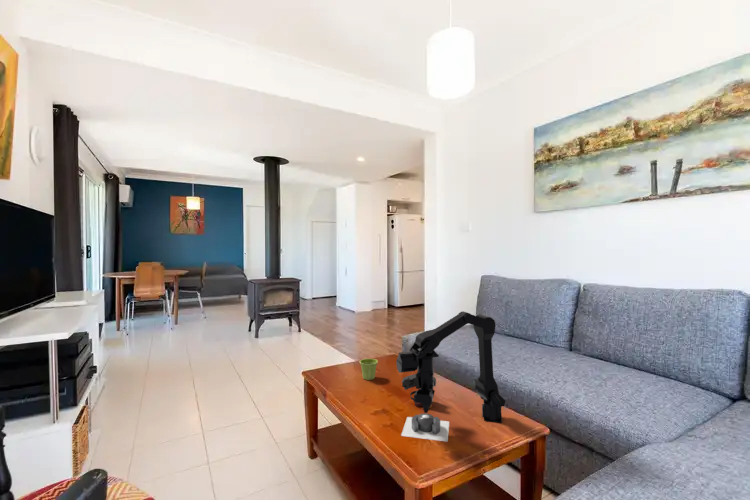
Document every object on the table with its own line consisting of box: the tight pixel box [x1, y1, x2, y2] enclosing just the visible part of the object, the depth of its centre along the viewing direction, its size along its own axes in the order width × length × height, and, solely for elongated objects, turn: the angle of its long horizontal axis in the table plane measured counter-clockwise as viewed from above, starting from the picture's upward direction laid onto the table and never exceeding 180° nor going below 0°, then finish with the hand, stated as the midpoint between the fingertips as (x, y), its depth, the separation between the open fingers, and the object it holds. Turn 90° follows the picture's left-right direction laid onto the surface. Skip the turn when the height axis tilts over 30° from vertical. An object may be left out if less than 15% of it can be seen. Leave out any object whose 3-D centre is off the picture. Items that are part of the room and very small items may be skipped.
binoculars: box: [409, 389, 433, 409], centre depth 143 cm, size 9×11×10 cm
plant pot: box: [359, 358, 379, 381], centre depth 174 cm, size 9×9×9 cm
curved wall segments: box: [411, 414, 441, 435], centre depth 123 cm, size 10×7×3 cm
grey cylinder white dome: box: [417, 412, 435, 432], centre depth 123 cm, size 6×6×4 cm
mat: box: [400, 416, 450, 443], centre depth 123 cm, size 16×14×1 cm
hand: (425, 412), depth 123 cm, fingers closed
